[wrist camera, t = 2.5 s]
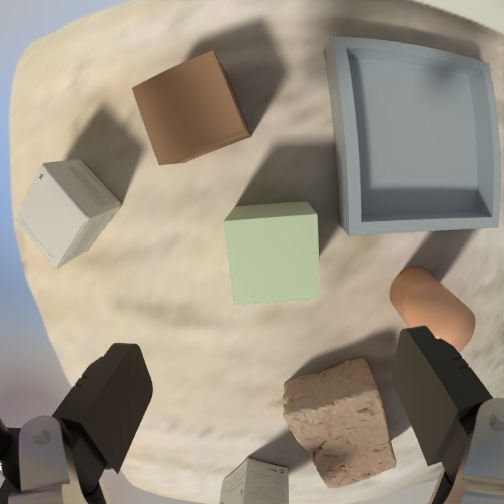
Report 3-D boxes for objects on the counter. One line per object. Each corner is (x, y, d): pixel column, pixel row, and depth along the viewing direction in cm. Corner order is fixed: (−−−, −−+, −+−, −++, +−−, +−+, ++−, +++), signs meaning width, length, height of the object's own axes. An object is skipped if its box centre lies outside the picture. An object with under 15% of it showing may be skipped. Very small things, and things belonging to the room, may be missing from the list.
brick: (277, 381, 26) (277, 419, 21) (365, 350, 24) (379, 385, 20) (325, 462, 30) (329, 491, 26) (389, 441, 28) (398, 469, 24)
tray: (468, 70, 16) (488, 63, 13) (477, 218, 20) (498, 227, 17) (324, 51, 17) (331, 36, 14) (339, 224, 21) (349, 235, 18)
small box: (50, 207, 22) (13, 220, 17) (81, 156, 20) (42, 160, 16) (88, 252, 23) (55, 273, 18) (124, 203, 21) (90, 216, 17)
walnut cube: (226, 73, 18) (212, 50, 13) (251, 136, 19) (244, 129, 15) (161, 101, 19) (131, 88, 14) (184, 162, 20) (158, 165, 15)
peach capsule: (434, 265, 21) (481, 302, 14) (428, 308, 22) (466, 354, 16) (391, 269, 21) (431, 311, 15) (387, 314, 23) (419, 365, 16)
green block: (306, 200, 21) (317, 214, 16) (309, 268, 22) (319, 299, 17) (235, 206, 21) (224, 221, 16) (242, 273, 22) (234, 304, 18)
